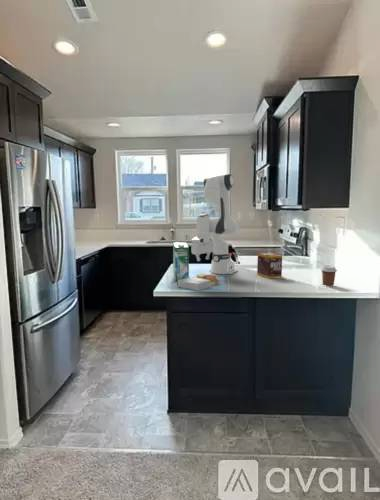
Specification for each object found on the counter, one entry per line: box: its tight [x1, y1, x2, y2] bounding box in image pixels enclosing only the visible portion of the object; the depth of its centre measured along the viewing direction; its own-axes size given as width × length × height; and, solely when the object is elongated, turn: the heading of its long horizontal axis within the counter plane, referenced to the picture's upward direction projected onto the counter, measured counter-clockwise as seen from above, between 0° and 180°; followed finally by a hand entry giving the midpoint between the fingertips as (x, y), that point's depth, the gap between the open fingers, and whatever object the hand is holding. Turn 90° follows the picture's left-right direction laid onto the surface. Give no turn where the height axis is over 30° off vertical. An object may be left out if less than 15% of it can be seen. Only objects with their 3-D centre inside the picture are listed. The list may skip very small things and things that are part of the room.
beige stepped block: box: [196, 273, 221, 286], centre depth 229 cm, size 6×15×5 cm, turn 50°
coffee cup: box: [320, 265, 338, 287], centre depth 218 cm, size 9×9×12 cm
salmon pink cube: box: [208, 273, 217, 280], centre depth 227 cm, size 4×4×4 cm
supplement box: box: [256, 252, 283, 279], centre depth 248 cm, size 10×15×16 cm
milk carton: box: [172, 241, 190, 282], centre depth 235 cm, size 9×9×25 cm
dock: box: [177, 276, 211, 292], centre depth 217 cm, size 12×16×4 cm
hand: (203, 260), depth 229 cm, fingers open, 8 cm apart
